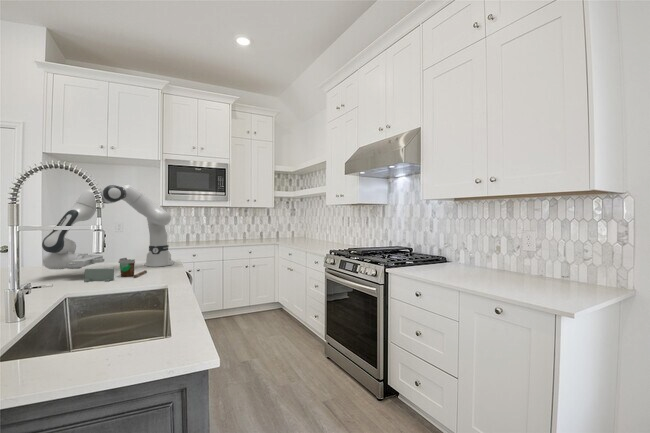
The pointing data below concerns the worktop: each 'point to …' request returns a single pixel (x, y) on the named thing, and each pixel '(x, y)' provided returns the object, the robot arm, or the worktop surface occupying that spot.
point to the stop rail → (140, 273)
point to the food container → (127, 267)
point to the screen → (99, 275)
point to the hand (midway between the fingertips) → (103, 260)
